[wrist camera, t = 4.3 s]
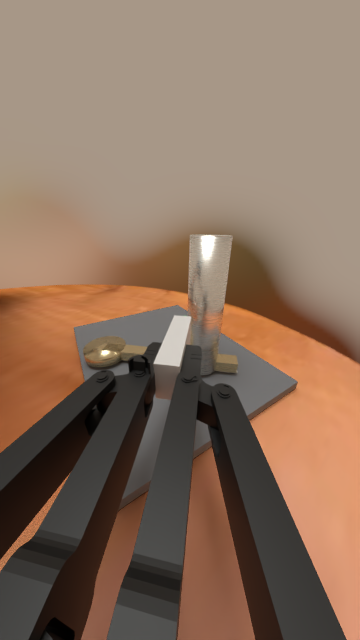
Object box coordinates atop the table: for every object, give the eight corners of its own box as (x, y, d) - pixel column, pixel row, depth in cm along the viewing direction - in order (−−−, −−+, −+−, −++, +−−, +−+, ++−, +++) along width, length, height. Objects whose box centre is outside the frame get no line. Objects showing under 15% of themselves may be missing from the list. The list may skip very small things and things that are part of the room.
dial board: (75, 332, 32) (73, 326, 31) (177, 309, 41) (177, 304, 41) (113, 513, 12) (110, 505, 11) (295, 388, 21) (298, 380, 21)
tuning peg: (76, 364, 22) (37, 233, 16) (98, 341, 27) (75, 232, 20) (238, 384, 20) (267, 237, 13) (233, 355, 24) (253, 235, 18)
